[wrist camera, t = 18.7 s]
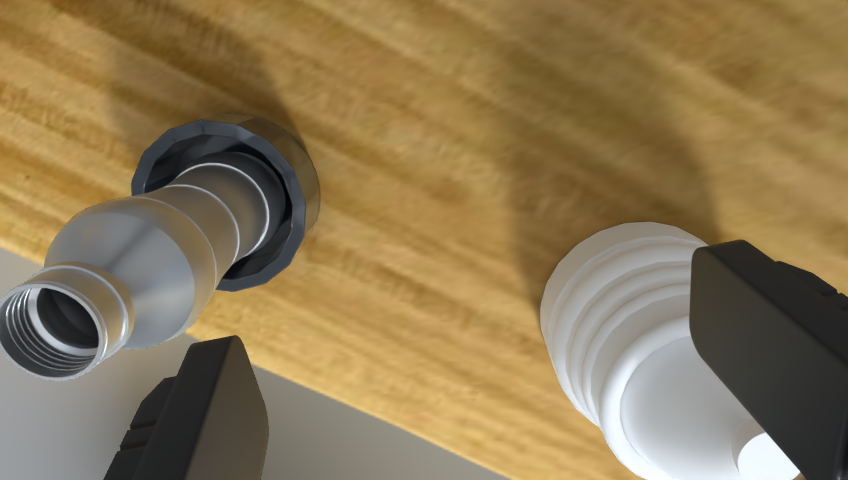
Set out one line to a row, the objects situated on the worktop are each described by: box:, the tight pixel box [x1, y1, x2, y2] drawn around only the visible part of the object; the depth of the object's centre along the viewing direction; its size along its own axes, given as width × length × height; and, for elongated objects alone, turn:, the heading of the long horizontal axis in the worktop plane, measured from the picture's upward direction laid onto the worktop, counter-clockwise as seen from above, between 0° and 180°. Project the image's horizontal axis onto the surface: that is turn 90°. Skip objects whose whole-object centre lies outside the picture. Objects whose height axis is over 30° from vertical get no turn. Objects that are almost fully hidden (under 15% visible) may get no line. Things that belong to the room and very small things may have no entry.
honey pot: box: [540, 222, 800, 480], centre depth 32 cm, size 13×13×18 cm
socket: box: [131, 113, 320, 292], centre depth 37 cm, size 10×10×4 cm
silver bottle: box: [0, 152, 285, 381], centre depth 29 cm, size 6×7×20 cm
